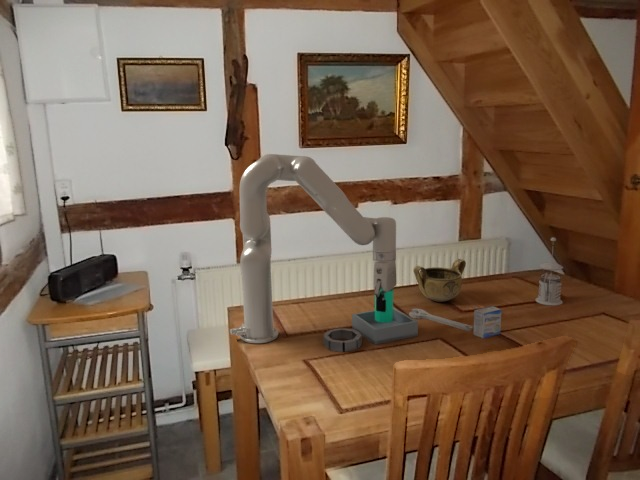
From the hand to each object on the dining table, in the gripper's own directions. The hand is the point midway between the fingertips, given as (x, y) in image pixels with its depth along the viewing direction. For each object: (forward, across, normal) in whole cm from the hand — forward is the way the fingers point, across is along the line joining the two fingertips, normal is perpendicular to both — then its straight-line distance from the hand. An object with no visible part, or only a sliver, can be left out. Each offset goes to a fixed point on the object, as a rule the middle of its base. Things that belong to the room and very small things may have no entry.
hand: (384, 307), depth 187 cm
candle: (+4, 0, 0) cm, 4 cm away
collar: (+8, -15, +9) cm, 19 cm away
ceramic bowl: (+9, +40, -9) cm, 42 cm away
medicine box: (+9, +11, -32) cm, 35 cm away
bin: (+9, 0, 0) cm, 9 cm away
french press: (+9, +53, -47) cm, 72 cm away
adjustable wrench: (+9, +16, -14) cm, 23 cm away
